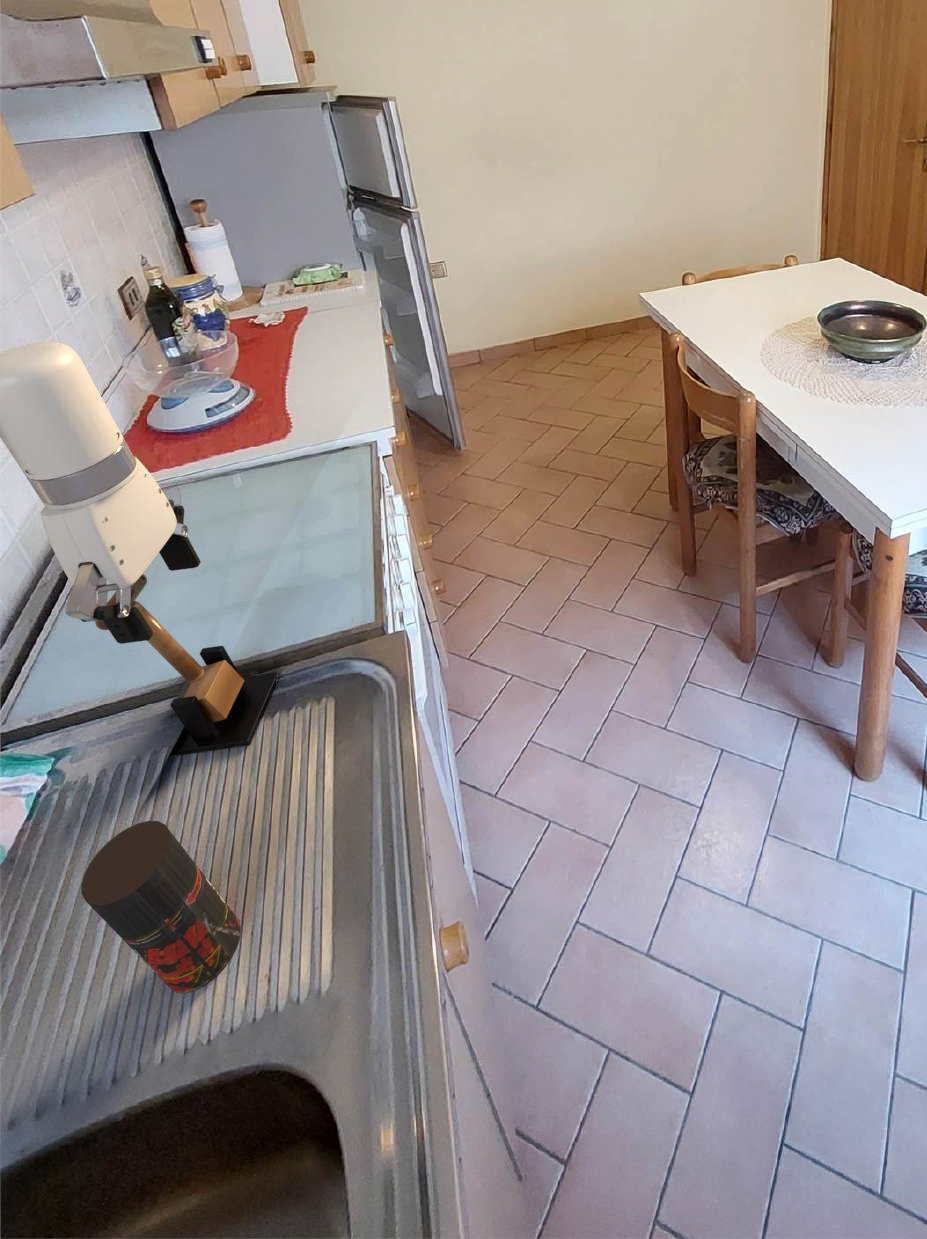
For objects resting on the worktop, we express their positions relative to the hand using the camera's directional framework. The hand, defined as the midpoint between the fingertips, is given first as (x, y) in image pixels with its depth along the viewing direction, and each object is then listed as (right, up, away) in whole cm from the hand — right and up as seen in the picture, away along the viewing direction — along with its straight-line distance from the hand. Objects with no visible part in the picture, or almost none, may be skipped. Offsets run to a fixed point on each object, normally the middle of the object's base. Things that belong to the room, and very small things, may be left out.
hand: (162, 601), depth 73 cm
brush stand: (+1, -17, +9) cm, 19 cm away
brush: (-4, -8, +4) cm, 9 cm away
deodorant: (+12, -27, -11) cm, 32 cm away
